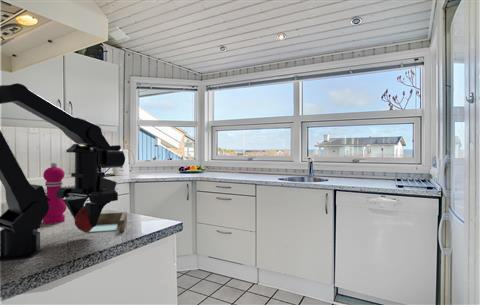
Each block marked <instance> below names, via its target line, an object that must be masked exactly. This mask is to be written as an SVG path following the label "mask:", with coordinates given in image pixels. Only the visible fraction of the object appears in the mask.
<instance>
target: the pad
mask: <svg viewBox="0 0 480 305" xmlns="http://www.w3.org/2000/svg"><path fill="white" fill-rule="evenodd" d="M118 226H119V223H118V224H103V225H96V226H95V227H94V228H92V229H91V230H90V231H89V232H87V233H88V234H89V233H90V234H91V233H101V232H102V233H103V232H115V231H117V228H118Z"/></svg>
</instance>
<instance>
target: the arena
mask: <svg viewBox="0 0 480 305" xmlns="http://www.w3.org/2000/svg"><path fill="white" fill-rule="evenodd" d="M127 214H128V212H127V211H119V212H117V211H116V212H101V214H100V216H99V219H98V223H97V225H103V224H118V225H119V233H124V232H125V229H126V226H127V222H128V217H127V216H128V215H127Z"/></svg>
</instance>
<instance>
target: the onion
mask: <svg viewBox="0 0 480 305" xmlns="http://www.w3.org/2000/svg"><path fill="white" fill-rule="evenodd" d="M97 223H98V222H97ZM74 225H75V227H76V228H77V229H78V230H79V231H82V232H83V233H85V234H86V233H88V232H89V231H90V230H91V229H92V228H94V227H92V226H91V224H90V221H89V217H88V213H87V209H86V206H85V205H84V206H83V208H82V209H81V210H79V212H78V213H77V214H76V216H75V219H74Z"/></svg>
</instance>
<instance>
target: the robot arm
mask: <svg viewBox="0 0 480 305" xmlns="http://www.w3.org/2000/svg"><path fill="white" fill-rule="evenodd" d="M8 103H12V104H15V105H16V106H18V107H20V108H22V109H24V110H25V111H28V112H29V113H31V114H33V115H34V116H36V117H38V118H40V119H42V120H44V121H45V122H47V123H49V124H51V125H53V126H55V127H57V128H58V129H59V130H61V131H62V132H63V133H64V135H65V136H67V138H68V139H70V140H71V141H73V142H74V143H72V145H71V146H70V147H68V149H66V153H70V154H71V153H74V172H71V174H70V176H71V177H72V178H74V185H72V186H61V188H59V189H58V190H57V191H56V198H61V199H62V198H63V199H64V200H62V201H63V202H64V203H65V204H66V208H67V209H68V210H69V212H70V214H71V216H72V217H73V219H74V220H75V216H76V214H77V213H78V212H79V210H81V209H82V208H83V207H84V206H86V209H87V213H88V217H89V221H90V224H91V226H92V227H95V226H96V225H97V222H98V219H99V216H100V214H101V213H102V211H103V209H104V207H105V206H106V205H107V204H110V203H111V202H115V201H116V202H117V201H118V200H119V193H118V192H117V190H116V187H117V181H114V180H111V179H108V178H105V177H104V176H103V175H104V174H103V173H102V172H99V168H101V169H111V168H114V169H115V168H122V167H123V166H124V165H125V163H126V156H125V153H124V151H123V149H122V147H121V145H119V144H117V145H110V143H109V142H108V140H107V139H106V138H105V136H104V135H103V131H102V128H101V127H100V126H99V125H98V124H96V123H94V122H92V121H89V120H86V119H83V118H79V117H76V116H74V115H72V114H70V113H68V112H66V111H65V110H63V109H62V108H61V107H59V106H57V105H55V104H53V103H51V102H50V101H49V100H47V99H45V98H43V97H42V96H40V95H39V94H37V93H35V92H34V91H32V90H31V89H29V88H28V87H27V86H26V85H24V84H22V83H19V82H18V83H12V84H6V85H5V84H3V85H2V84H1V85H0V105H1V104H8ZM81 145H83V146H81ZM94 149H96V150H94ZM0 182H1V184H2V185H3V187H4V192H5V200H6V204H7V209H6V210H5V211H4V212H3V213H2V214H1V215H0V228H1V230H0V261H7V260H8V261H9V260H21V259H27V258H28V259H29V258H32V257H33V256H34V255H36V253H37V252H38V251H40V250H41V232H40V231H39V229H40V227H41V225H42V223H43V218H44V217H45V216H46V214H47V213H48V210H49V203H48V201H50V199H49V198H48V197H47V196H46V195H47V193H46V191H45V188H44V186H43V185H40V184H39V185H38V184H31V182H29V181H28V178H27V177H26V174H25V172H24V171H23V169H22V167H21V166H20V164H19V162H18V160H17V158H16V156H15V155H14V153H13V151H12V149H11V147H10V145H9V144H8V142H7V140H6V138H5V136H4V134H3V132H2V131H1V130H0ZM87 200H89V201H90V202H86V201H87Z"/></svg>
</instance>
